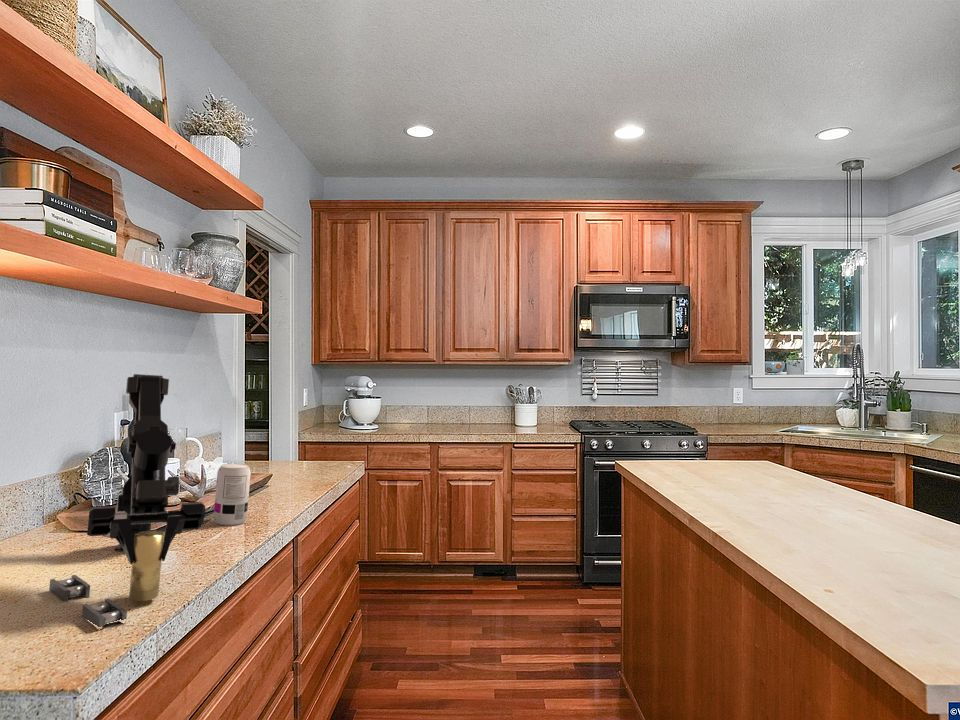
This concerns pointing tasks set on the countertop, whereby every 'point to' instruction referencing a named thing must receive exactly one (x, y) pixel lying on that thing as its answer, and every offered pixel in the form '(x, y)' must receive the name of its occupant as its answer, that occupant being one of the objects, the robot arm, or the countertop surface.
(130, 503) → the robot arm
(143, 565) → the link pin
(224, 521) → the supplement can
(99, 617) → the chain end
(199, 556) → the countertop surface
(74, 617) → the countertop surface
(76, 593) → the chain end
